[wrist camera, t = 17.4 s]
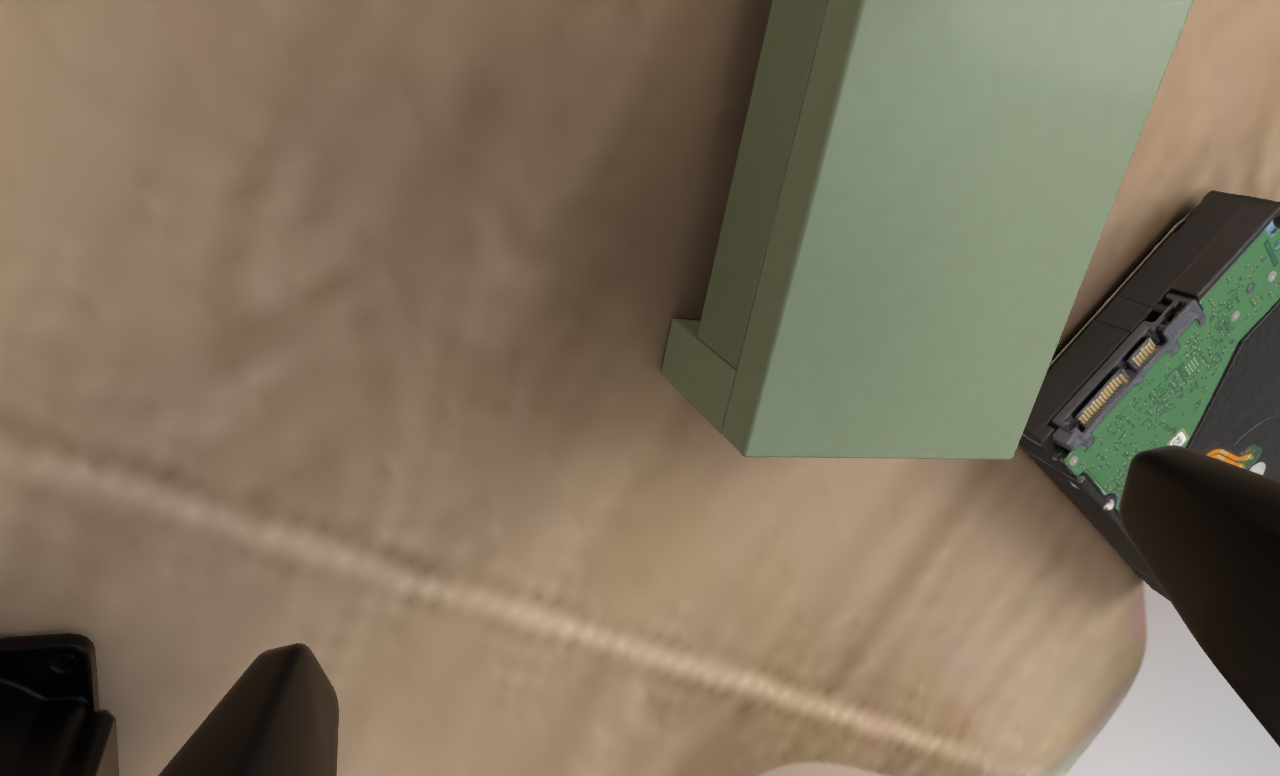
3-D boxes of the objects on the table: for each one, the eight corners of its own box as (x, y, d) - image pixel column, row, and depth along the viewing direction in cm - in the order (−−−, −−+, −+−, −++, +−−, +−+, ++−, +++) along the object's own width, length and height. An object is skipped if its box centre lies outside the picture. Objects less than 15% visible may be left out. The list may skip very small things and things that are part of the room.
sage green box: (660, 373, 21) (743, 458, 17) (841, -490, 15) (1046, -706, 11) (892, 386, 24) (1013, 460, 20) (1122, -325, 18) (1369, -439, 14)
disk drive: (1311, 403, 33) (1201, 180, 25) (1388, 432, 30) (1294, 196, 23) (1143, 584, 34) (988, 424, 26) (1205, 626, 31) (1055, 463, 24)
